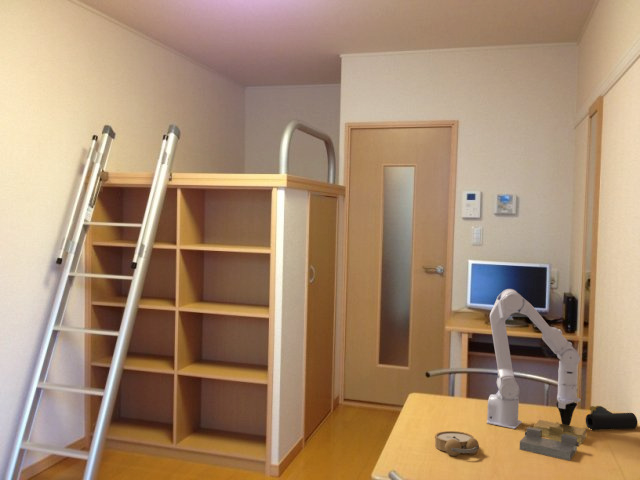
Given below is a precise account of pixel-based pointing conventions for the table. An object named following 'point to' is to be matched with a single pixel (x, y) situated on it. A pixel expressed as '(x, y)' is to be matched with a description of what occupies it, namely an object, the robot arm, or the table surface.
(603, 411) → the pipe connector
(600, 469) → the table surface
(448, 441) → the alarm clock
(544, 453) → the fixed leaf
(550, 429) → the tan flat block
